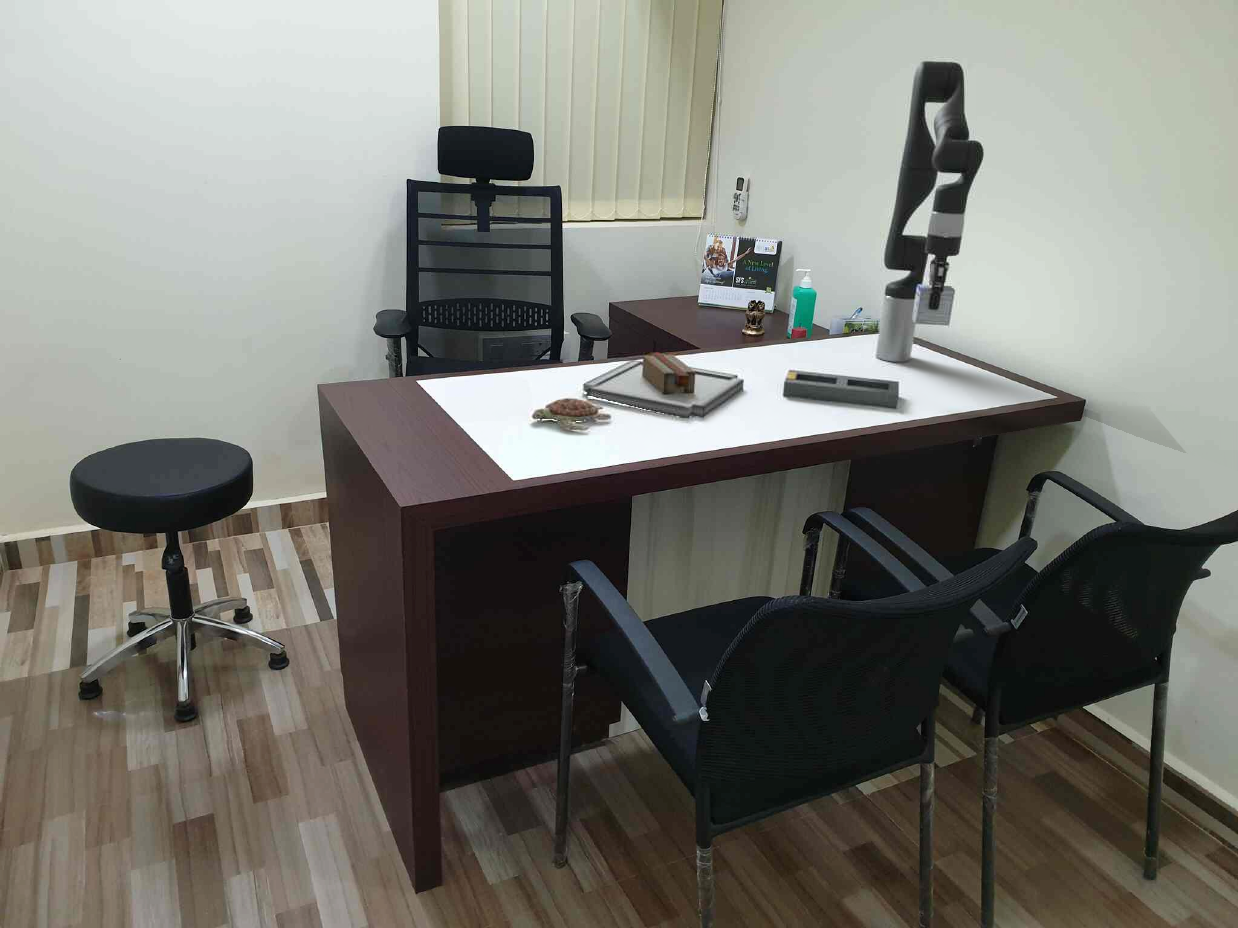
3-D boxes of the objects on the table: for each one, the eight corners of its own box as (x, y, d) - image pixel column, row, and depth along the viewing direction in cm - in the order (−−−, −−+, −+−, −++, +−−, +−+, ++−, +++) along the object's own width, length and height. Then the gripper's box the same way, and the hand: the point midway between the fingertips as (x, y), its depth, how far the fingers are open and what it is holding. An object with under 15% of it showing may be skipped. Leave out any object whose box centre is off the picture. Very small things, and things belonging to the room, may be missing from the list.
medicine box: (944, 322, 217) (951, 285, 214) (949, 326, 213) (955, 289, 210) (911, 320, 218) (916, 284, 214) (915, 324, 213) (920, 287, 210)
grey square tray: (577, 399, 210) (578, 367, 207) (636, 369, 235) (637, 341, 232) (697, 423, 197) (700, 390, 194) (746, 389, 222) (749, 359, 219)
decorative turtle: (521, 411, 200) (521, 389, 198) (593, 405, 206) (594, 383, 204) (543, 439, 184) (543, 415, 182) (621, 432, 190) (621, 409, 188)
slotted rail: (787, 383, 226) (789, 369, 224) (896, 395, 219) (898, 380, 218) (782, 396, 216) (784, 381, 214) (896, 409, 210) (898, 393, 208)
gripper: (926, 228, 215) (915, 299, 221) (929, 235, 202) (917, 311, 208) (959, 230, 213) (947, 302, 219) (964, 238, 200) (951, 314, 206)
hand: (932, 306), depth 214 cm, fingers closed on medicine box, 5 cm apart
